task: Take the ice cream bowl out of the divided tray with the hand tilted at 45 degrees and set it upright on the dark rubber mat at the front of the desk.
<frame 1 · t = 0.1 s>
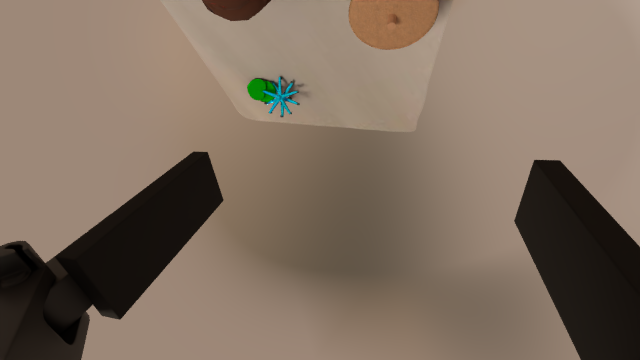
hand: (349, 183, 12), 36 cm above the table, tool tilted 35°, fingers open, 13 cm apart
stick construction toy: (277, 87, 64), on the table
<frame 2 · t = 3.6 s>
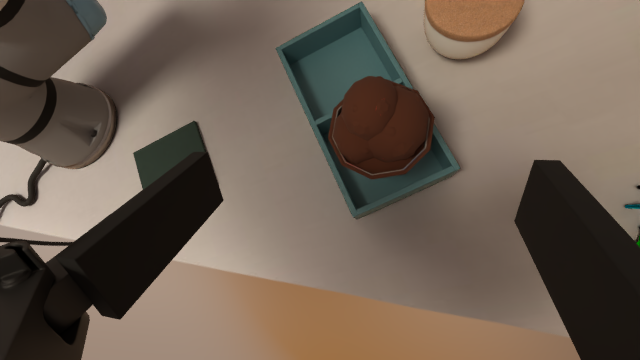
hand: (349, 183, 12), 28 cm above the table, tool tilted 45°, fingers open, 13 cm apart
mat: (175, 169, 47), on the table
ice cream bowl: (380, 153, 40), point 1 cm above the table, touching divided tray
trinket box: (457, 39, 41), on the table
divided tray: (360, 116, 42), on the table
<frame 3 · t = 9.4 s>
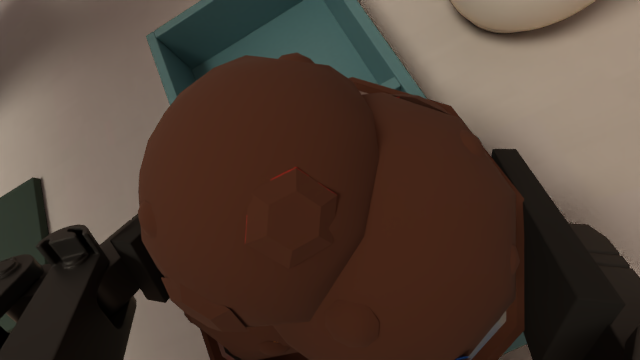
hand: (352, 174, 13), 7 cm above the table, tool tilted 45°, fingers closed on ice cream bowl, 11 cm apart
ice cream bowl: (362, 242, 18), point 1 cm above the table, touching gripper, divided tray
divided tray: (320, 160, 21), on the table
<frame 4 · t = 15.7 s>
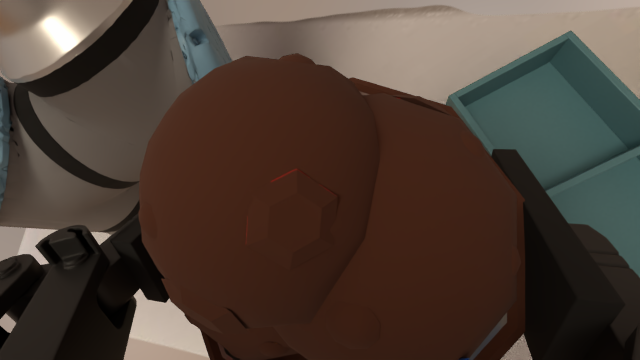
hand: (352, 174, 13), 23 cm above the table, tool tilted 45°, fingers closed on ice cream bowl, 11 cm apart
ice cream bowl: (362, 243, 18), point 17 cm above the table, touching gripper
divided tray: (568, 181, 31), on the table
when the fingers open (7 cm above the table, at t = 21.9 s): ice cream bowl stays where it is, resting on mat.
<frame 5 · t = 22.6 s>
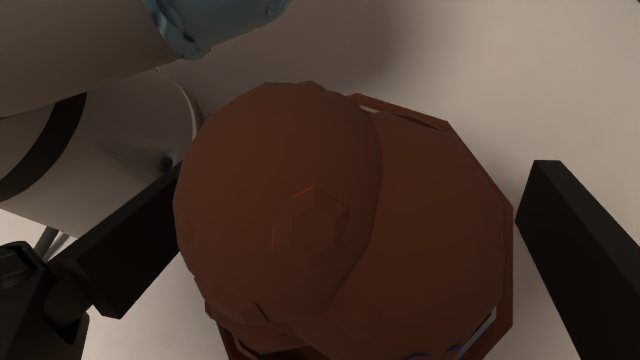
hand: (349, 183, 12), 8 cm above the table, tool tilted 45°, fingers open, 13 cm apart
ice cream bowl: (364, 245, 19), resting on mat
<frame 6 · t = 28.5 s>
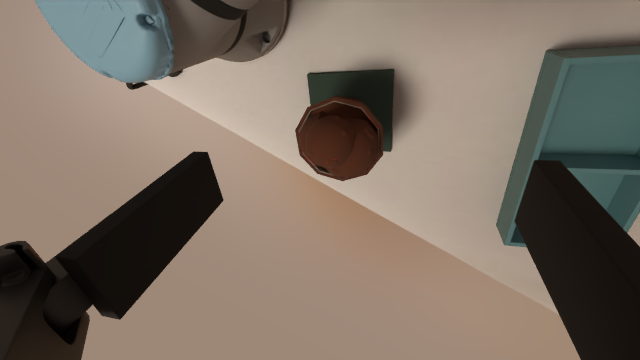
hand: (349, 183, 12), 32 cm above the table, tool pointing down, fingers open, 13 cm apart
mat: (351, 113, 44), on the table
ice cream bowl: (350, 115, 43), resting on mat
divided tray: (573, 153, 39), on the table
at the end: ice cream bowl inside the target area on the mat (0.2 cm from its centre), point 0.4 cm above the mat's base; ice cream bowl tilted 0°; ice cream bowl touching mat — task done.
